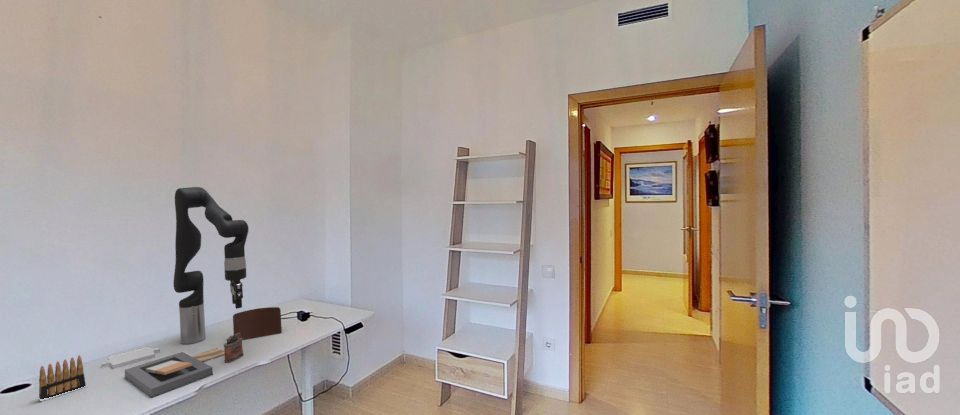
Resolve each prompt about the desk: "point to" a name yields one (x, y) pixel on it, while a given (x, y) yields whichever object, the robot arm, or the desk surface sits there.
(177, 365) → the two-tone tile
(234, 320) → the letter holder
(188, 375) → the gray rectangular recessed tray
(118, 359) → the mounting plate
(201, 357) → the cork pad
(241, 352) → the lighter
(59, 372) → the ammunition clip
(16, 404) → the desk surface
